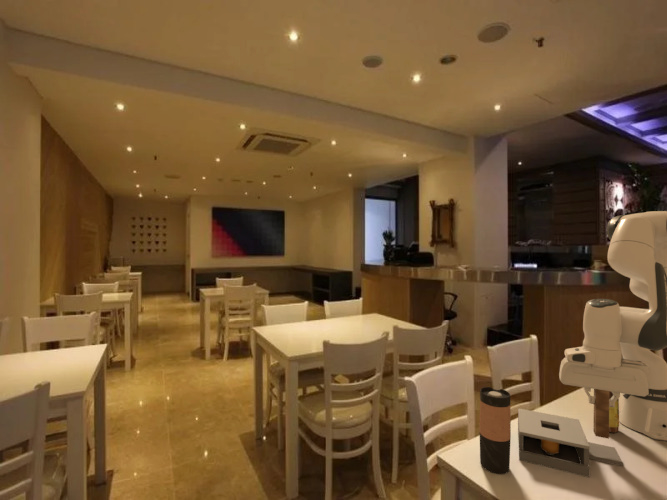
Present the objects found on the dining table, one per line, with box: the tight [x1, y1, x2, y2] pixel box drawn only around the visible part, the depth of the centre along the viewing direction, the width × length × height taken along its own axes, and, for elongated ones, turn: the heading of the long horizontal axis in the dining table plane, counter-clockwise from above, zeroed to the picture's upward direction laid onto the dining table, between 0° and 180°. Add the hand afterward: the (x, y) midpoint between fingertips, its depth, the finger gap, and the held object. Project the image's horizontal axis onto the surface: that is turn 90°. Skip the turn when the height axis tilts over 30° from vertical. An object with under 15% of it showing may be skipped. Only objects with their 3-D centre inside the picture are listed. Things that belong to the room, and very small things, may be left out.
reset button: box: [540, 439, 560, 454], centre depth 101 cm, size 4×4×2 cm
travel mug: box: [478, 386, 512, 475], centre depth 95 cm, size 8×8×20 cm
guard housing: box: [517, 408, 591, 478], centre depth 101 cm, size 16×16×8 cm
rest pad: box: [588, 441, 623, 467], centre depth 100 cm, size 8×8×1 cm
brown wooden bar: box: [592, 389, 610, 439], centre depth 100 cm, size 3×3×16 cm
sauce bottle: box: [609, 391, 620, 433], centre depth 115 cm, size 7×6×20 cm
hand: (601, 404), depth 100 cm, fingers closed on brown wooden bar, 3 cm apart
